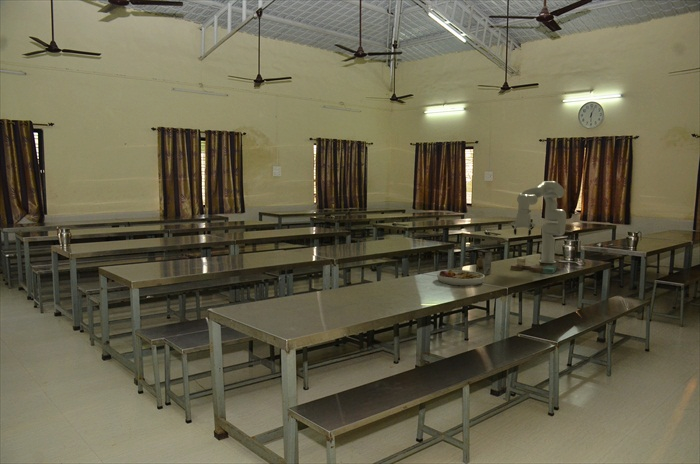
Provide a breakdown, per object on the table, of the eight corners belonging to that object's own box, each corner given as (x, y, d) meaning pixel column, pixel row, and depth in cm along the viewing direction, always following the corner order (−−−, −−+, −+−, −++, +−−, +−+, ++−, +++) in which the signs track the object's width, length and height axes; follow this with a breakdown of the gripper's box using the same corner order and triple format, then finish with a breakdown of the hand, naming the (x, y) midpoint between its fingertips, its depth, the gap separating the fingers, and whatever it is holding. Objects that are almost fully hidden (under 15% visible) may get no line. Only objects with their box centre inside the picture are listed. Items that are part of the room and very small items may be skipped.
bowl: (467, 276, 362) (467, 265, 361) (494, 285, 334) (494, 272, 333) (428, 279, 351) (428, 267, 350) (452, 288, 323) (453, 275, 322)
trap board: (515, 266, 402) (516, 262, 402) (556, 270, 388) (556, 266, 388) (510, 269, 388) (510, 265, 387) (552, 273, 373) (552, 269, 373)
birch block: (518, 263, 395) (518, 257, 395) (525, 264, 393) (525, 257, 392) (516, 264, 391) (517, 258, 390) (523, 265, 388) (524, 258, 388)
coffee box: (475, 272, 376) (476, 249, 374) (482, 271, 378) (483, 249, 377) (483, 274, 368) (484, 251, 366) (491, 273, 370) (492, 251, 368)
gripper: (536, 212, 385) (535, 235, 387) (512, 210, 393) (511, 233, 395) (535, 212, 379) (533, 236, 380) (510, 211, 387) (509, 234, 389)
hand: (522, 235), depth 388 cm, fingers open, 9 cm apart
